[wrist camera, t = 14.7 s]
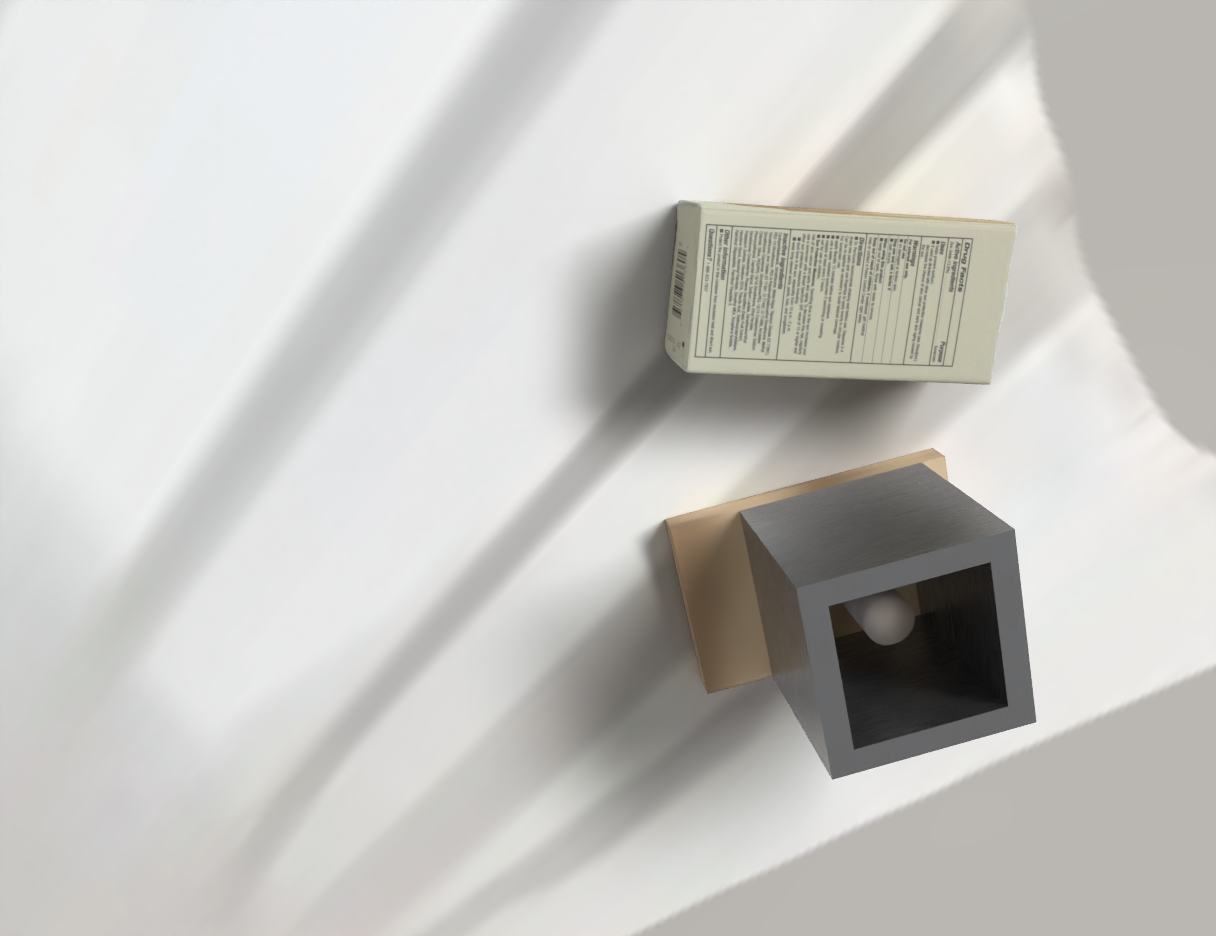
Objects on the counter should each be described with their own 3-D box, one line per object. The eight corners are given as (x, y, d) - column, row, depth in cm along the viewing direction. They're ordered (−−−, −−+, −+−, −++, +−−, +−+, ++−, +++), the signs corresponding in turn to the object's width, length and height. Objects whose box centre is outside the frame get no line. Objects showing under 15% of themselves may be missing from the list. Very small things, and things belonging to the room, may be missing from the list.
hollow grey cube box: (772, 675, 47) (832, 779, 40) (739, 510, 45) (796, 588, 37) (944, 628, 48) (1036, 722, 40) (921, 462, 45) (1014, 529, 38)
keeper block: (702, 680, 48) (735, 756, 43) (665, 519, 46) (695, 576, 40) (954, 610, 49) (1022, 676, 43) (932, 448, 47) (1001, 494, 41)
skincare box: (659, 352, 44) (943, 371, 46) (681, 375, 40) (991, 394, 41) (677, 189, 42) (971, 216, 44) (701, 195, 38) (1024, 224, 40)
